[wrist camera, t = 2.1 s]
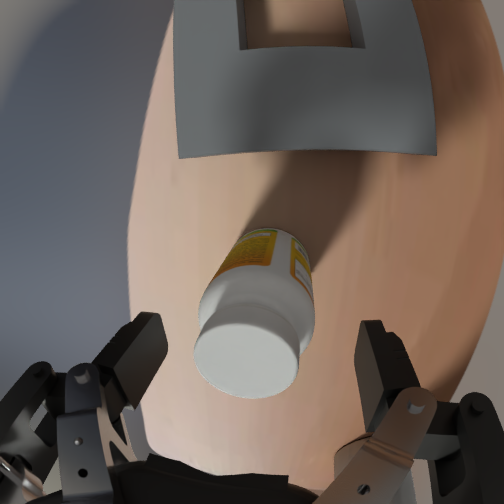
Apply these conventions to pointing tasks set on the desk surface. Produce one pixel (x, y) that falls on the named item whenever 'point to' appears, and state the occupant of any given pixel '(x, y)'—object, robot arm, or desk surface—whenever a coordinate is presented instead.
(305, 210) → the desk surface
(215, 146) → the socket holder
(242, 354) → the supplement bottle
